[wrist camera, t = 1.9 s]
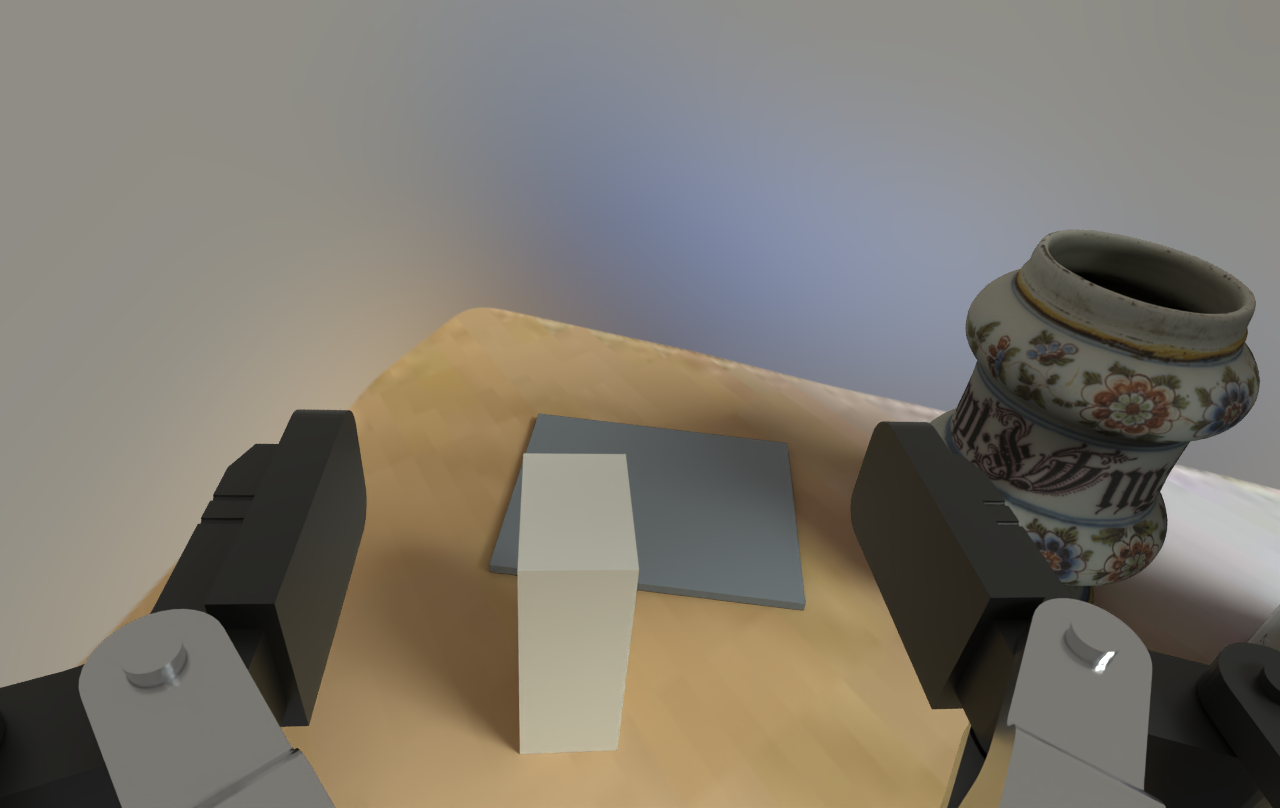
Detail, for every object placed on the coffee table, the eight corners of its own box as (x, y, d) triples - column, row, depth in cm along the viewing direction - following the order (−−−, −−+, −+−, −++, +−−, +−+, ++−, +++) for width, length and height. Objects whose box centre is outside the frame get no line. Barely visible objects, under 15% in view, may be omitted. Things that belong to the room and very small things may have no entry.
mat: (785, 449, 49) (787, 443, 49) (803, 610, 39) (805, 603, 38) (538, 419, 50) (538, 413, 49) (489, 571, 39) (489, 565, 39)
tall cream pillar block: (609, 631, 37) (625, 454, 30) (617, 750, 32) (639, 569, 26) (524, 632, 36) (523, 453, 30) (519, 754, 32) (517, 571, 25)
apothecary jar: (1102, 529, 46) (1273, 249, 35) (1122, 692, 36) (1362, 377, 26) (897, 466, 49) (997, 192, 38) (867, 601, 40) (989, 288, 29)
